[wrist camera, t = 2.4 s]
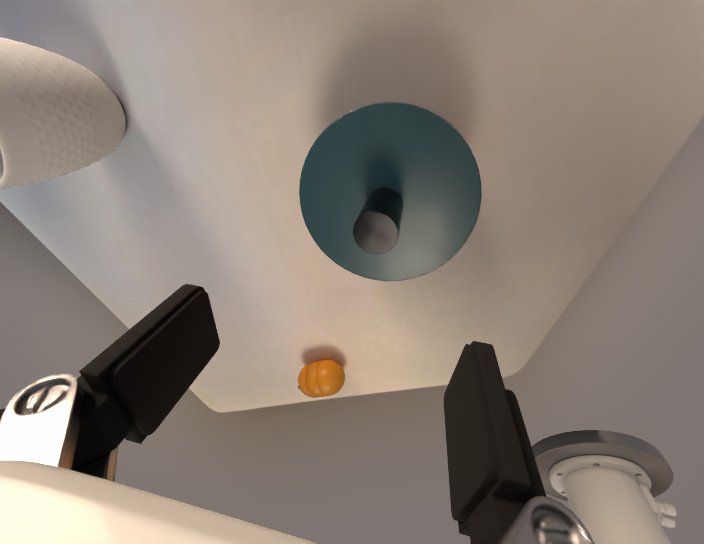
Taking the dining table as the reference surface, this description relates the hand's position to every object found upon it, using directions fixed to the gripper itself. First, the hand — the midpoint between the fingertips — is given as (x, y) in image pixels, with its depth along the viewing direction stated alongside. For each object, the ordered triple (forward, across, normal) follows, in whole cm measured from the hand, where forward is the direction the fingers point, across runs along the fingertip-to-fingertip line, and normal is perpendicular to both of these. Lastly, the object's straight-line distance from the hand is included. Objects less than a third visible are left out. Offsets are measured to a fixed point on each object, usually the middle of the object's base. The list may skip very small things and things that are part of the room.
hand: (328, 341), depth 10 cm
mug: (+23, +33, -2) cm, 41 cm away
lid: (+14, 0, 0) cm, 14 cm away
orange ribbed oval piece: (+23, +6, +31) cm, 39 cm away
